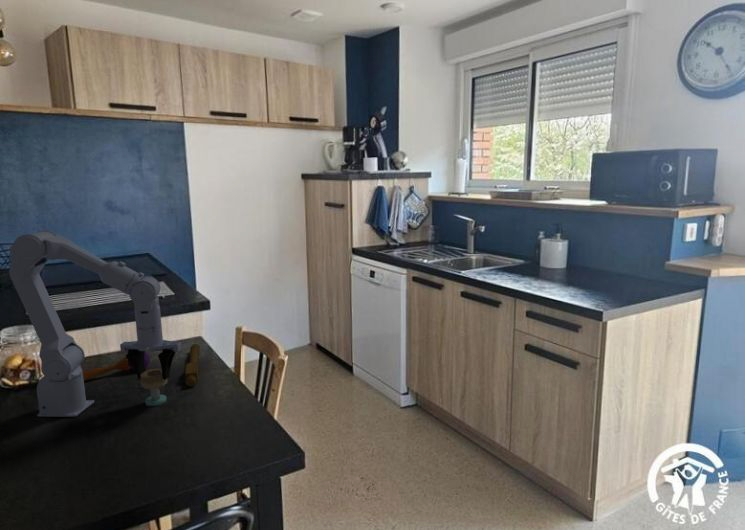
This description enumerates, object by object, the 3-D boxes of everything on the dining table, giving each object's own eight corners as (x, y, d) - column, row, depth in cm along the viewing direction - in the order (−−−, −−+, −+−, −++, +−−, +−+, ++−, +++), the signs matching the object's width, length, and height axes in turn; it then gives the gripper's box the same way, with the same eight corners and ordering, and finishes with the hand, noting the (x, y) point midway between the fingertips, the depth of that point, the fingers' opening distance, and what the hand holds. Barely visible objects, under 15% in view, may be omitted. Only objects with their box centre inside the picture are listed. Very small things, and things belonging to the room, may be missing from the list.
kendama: (70, 367, 139) (145, 346, 150) (75, 387, 139) (149, 365, 151) (71, 369, 134) (149, 348, 145) (76, 390, 134) (153, 368, 146)
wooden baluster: (199, 342, 161) (196, 377, 133) (200, 351, 162) (197, 388, 133) (189, 344, 160) (184, 378, 132) (190, 352, 161) (185, 389, 133)
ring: (138, 388, 121) (136, 377, 121) (149, 379, 127) (147, 368, 126) (160, 388, 121) (159, 377, 121) (170, 379, 127) (169, 368, 126)
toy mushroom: (141, 406, 122) (139, 388, 122) (151, 397, 127) (149, 380, 127) (161, 406, 122) (159, 388, 121) (170, 397, 127) (168, 380, 126)
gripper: (111, 331, 118) (117, 384, 120) (170, 331, 117) (175, 384, 120) (126, 322, 125) (132, 373, 127) (182, 322, 124) (187, 373, 126)
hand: (154, 377), depth 124 cm, fingers closed on ring, 6 cm apart
